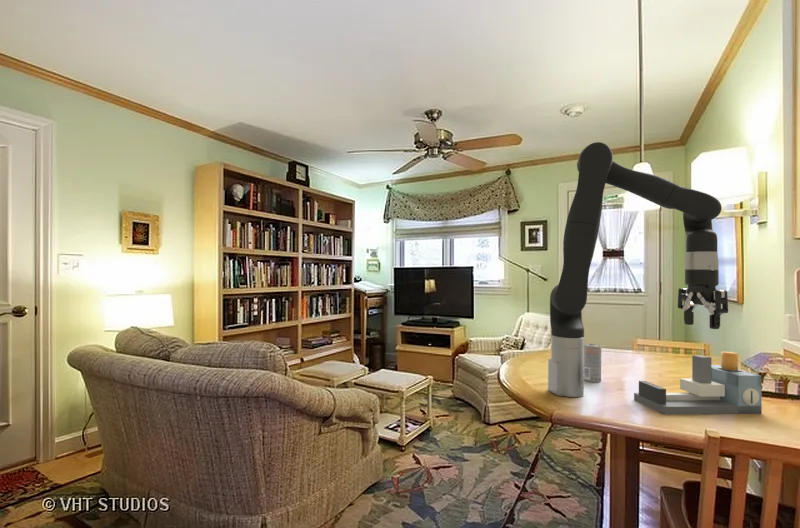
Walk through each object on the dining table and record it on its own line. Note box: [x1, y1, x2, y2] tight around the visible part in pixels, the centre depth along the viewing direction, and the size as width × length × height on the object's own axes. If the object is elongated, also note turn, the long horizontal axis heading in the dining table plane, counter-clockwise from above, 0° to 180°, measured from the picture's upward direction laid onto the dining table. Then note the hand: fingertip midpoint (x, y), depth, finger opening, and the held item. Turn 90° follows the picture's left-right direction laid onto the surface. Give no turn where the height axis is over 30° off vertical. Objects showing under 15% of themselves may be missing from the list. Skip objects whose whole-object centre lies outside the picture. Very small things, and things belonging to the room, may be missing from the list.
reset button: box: [720, 351, 739, 371], centre depth 112 cm, size 4×4×4 cm
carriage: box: [679, 354, 725, 397], centre depth 111 cm, size 7×7×10 cm
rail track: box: [633, 364, 763, 416], centre depth 111 cm, size 27×12×10 cm, turn 94°
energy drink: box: [584, 343, 602, 383], centre depth 137 cm, size 5×5×12 cm
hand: (701, 326), depth 112 cm, fingers open, 8 cm apart
